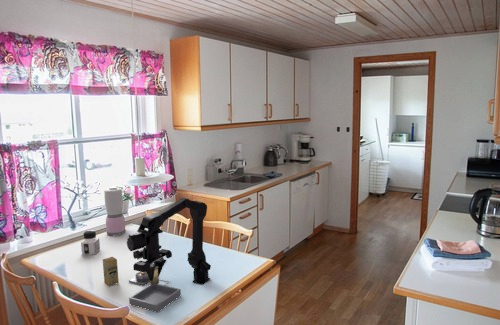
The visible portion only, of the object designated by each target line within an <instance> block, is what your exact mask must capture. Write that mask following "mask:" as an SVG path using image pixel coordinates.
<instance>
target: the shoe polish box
mask: <svg viewBox="0 0 500 325" xmlns="http://www.w3.org/2000/svg"><path fill="white" fill-rule="evenodd" d="M102 268H103V270H102V271H103V279H104V280H103V282H104V284H105V285H106V286H108V287H111V286H113V285H116V283H117V284H118V283H119V282H120V281H119V272H118V271H119V269H118V268H119V267H118V259H117V258H115V257H113V256H110V257H107V258H104V259H102Z"/></svg>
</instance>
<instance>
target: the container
mask: <svg viewBox="0 0 500 325" xmlns="http://www.w3.org/2000/svg"><path fill="white" fill-rule="evenodd" d="M100 244H101V243H100V237H97V234H96V231H95V230H92V229H90V230H86V231H84V232H83V240H82V241H81V242H80V246H81V248H80V249H81V256H84V255H86V256H88V255H89V256H90V255H91V256H92V255H94V256H95V255H96V254H98V252H100V251H101V245H100Z"/></svg>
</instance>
